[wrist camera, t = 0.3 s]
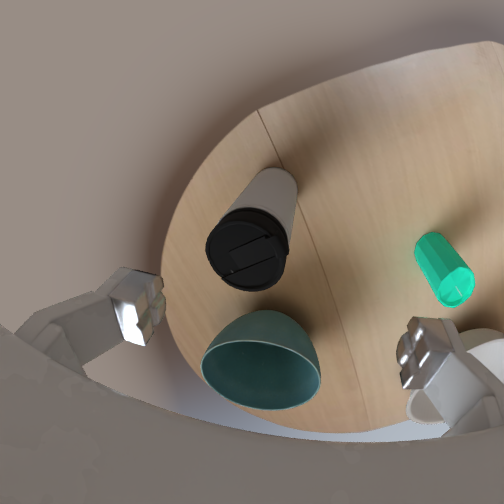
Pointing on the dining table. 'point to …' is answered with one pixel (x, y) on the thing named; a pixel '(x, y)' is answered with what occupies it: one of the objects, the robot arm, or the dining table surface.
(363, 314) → the dining table surface
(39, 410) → the robot arm
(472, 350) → the bowl
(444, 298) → the candle
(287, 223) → the travel mug
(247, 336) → the deep teal bowl
